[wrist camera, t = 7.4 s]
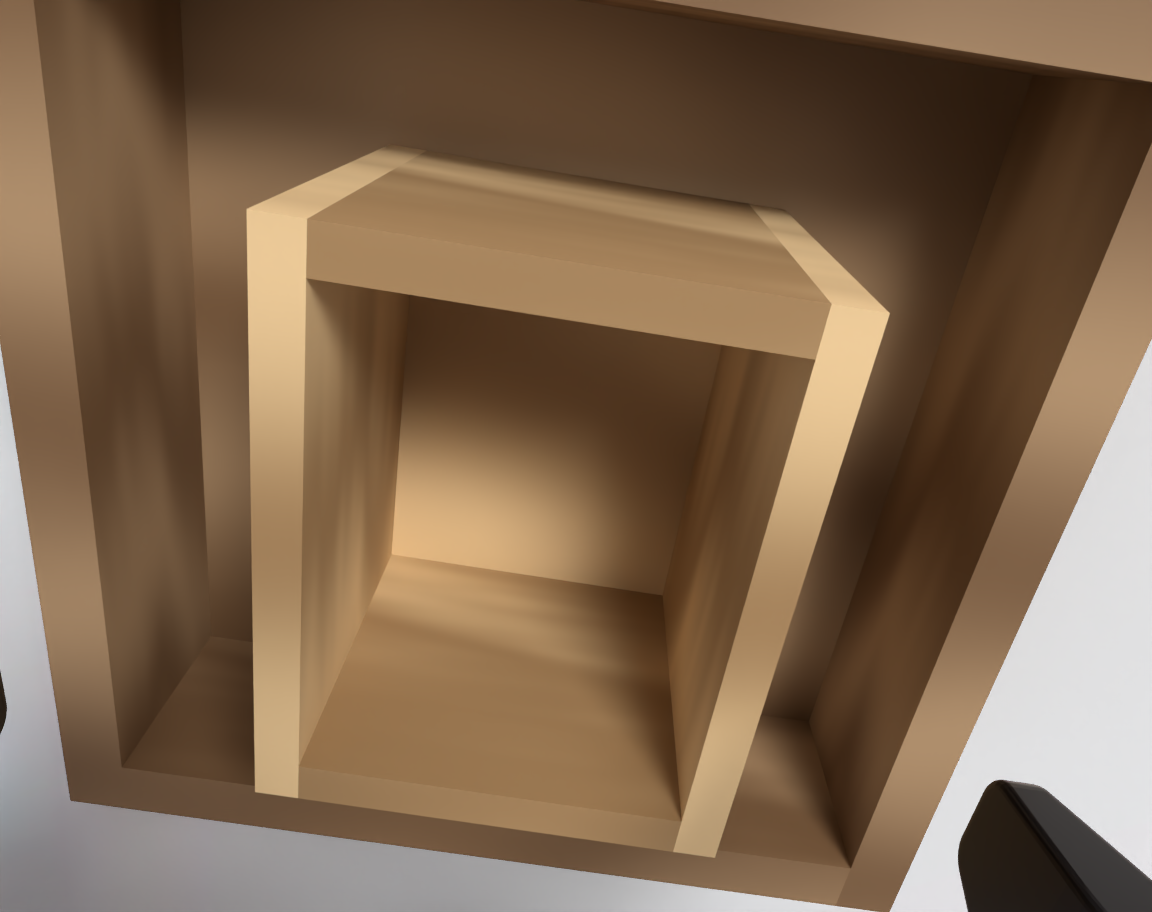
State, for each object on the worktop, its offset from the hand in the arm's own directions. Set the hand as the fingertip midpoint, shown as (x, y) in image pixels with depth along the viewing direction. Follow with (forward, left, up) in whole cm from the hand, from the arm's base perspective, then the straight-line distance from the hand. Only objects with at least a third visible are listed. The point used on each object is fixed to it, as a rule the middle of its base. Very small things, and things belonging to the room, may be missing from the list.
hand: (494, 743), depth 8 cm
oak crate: (0, 0, -9) cm, 9 cm away
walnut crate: (0, 0, -10) cm, 10 cm away
